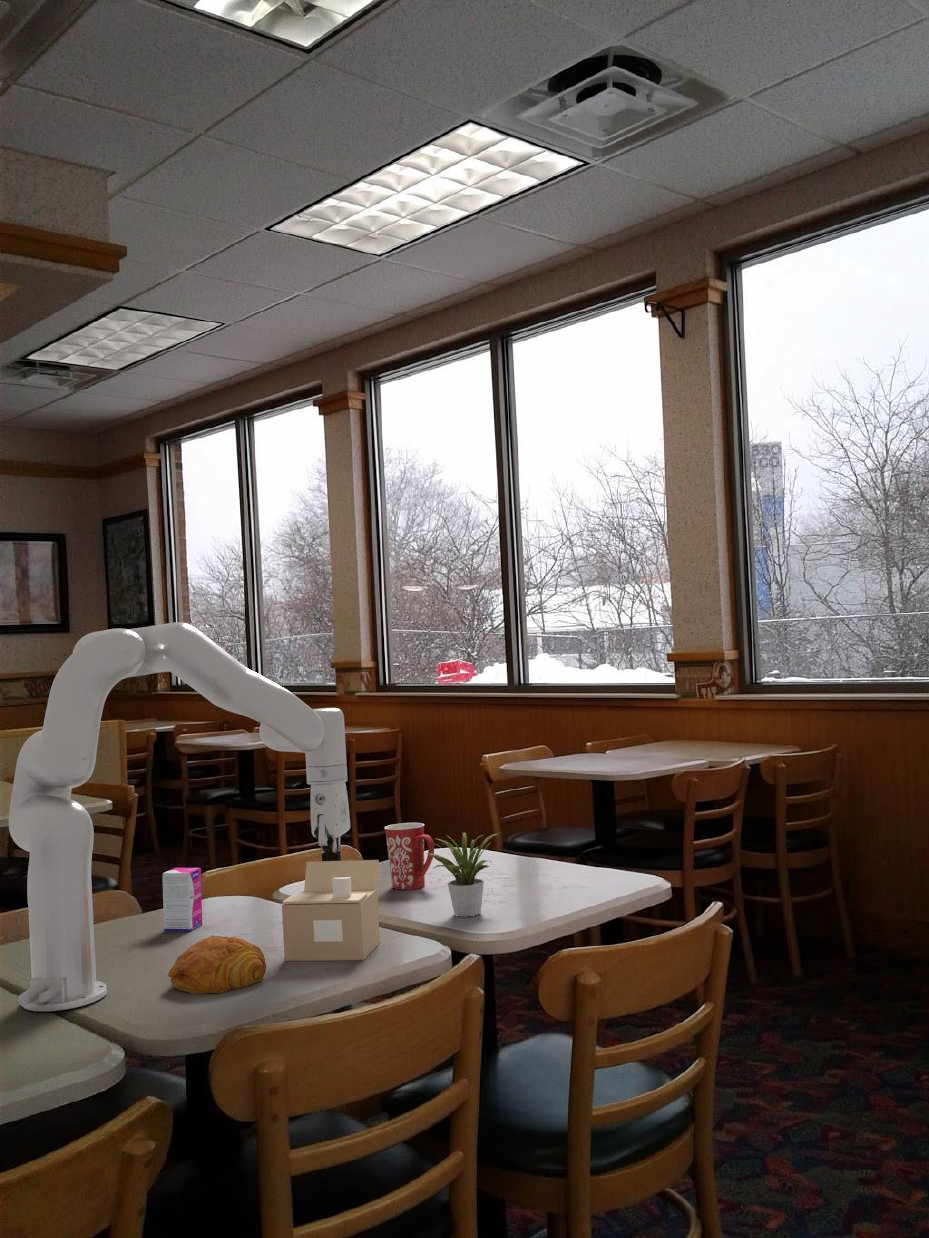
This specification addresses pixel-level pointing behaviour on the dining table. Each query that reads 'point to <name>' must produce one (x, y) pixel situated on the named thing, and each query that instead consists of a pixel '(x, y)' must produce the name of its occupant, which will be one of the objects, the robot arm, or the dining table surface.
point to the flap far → (341, 874)
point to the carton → (331, 928)
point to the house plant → (465, 877)
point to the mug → (408, 854)
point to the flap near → (339, 894)
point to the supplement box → (182, 899)
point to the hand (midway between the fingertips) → (332, 873)
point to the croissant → (218, 966)
